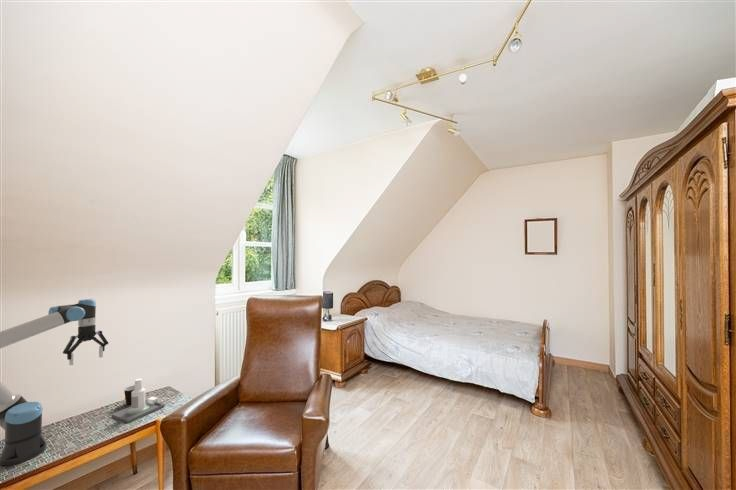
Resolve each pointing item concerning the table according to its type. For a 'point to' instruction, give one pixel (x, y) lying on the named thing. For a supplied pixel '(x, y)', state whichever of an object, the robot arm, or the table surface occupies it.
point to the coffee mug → (128, 394)
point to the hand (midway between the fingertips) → (86, 360)
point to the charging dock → (130, 416)
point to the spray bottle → (138, 396)
